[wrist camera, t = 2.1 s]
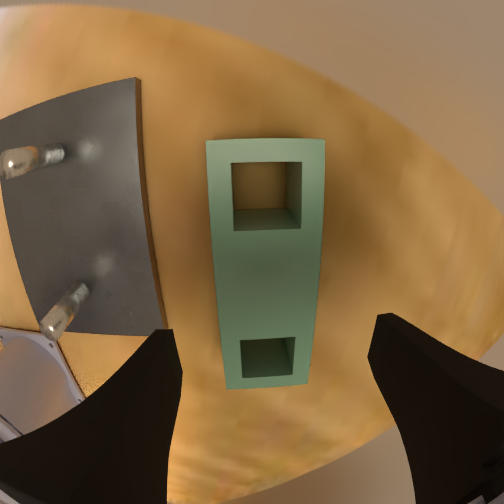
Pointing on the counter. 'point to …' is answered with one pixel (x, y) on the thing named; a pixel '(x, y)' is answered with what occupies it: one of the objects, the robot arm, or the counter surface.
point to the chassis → (82, 212)
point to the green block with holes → (267, 262)
